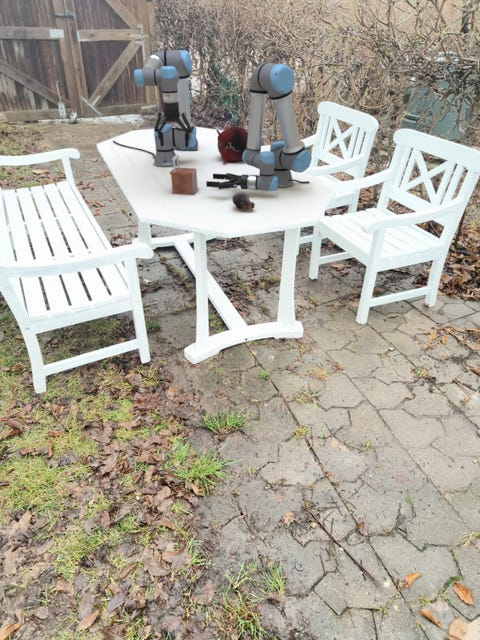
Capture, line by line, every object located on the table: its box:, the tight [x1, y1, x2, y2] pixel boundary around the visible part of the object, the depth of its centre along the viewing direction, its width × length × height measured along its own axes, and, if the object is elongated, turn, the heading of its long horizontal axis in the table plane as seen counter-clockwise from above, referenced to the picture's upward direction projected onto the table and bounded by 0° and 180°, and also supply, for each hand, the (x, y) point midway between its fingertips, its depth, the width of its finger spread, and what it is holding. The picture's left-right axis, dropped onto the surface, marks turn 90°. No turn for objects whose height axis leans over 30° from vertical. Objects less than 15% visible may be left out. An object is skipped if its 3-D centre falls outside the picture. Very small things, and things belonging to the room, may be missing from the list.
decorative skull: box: [216, 126, 248, 165], centre depth 296 cm, size 21×24×25 cm
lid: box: [169, 153, 197, 175], centre depth 241 cm, size 12×9×8 cm
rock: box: [232, 192, 256, 211], centre depth 223 cm, size 12×9×10 cm
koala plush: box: [174, 137, 199, 151], centre depth 321 cm, size 17×18×20 cm
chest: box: [170, 170, 199, 196], centre depth 246 cm, size 12×9×10 cm
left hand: (174, 146), depth 236 cm, fingers open, 13 cm apart
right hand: (209, 180), depth 242 cm, fingers open, 13 cm apart
